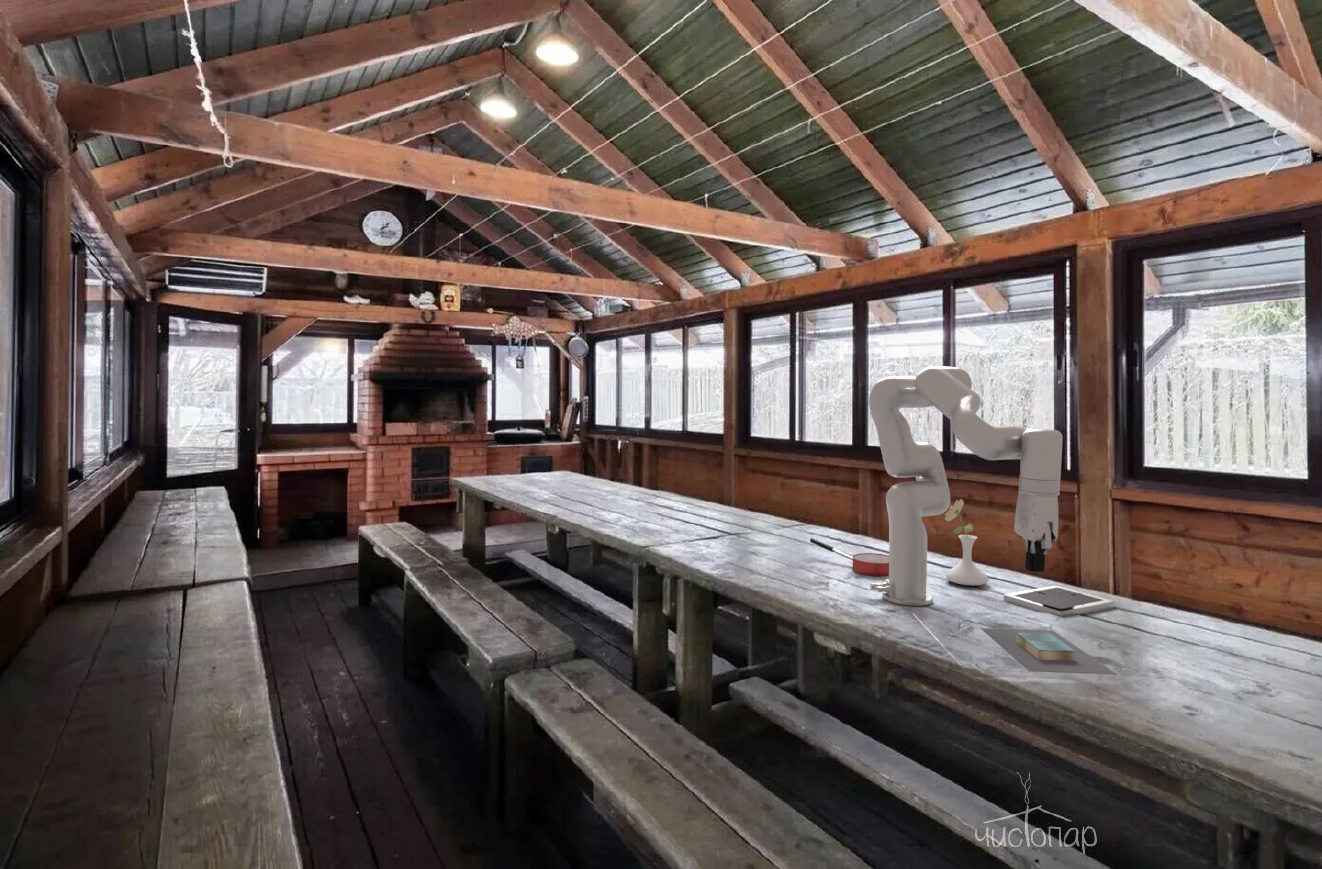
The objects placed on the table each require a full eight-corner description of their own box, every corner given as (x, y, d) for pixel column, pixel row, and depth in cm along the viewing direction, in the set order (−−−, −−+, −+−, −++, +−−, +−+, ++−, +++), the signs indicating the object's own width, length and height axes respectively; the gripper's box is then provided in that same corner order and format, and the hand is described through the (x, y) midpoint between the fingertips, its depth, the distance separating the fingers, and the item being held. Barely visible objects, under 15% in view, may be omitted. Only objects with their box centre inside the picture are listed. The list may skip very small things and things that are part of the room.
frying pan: (795, 560, 217) (795, 541, 217) (817, 554, 226) (818, 536, 225) (882, 579, 193) (882, 558, 193) (904, 572, 202) (904, 552, 201)
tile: (1016, 641, 141) (1038, 659, 131) (1016, 632, 141) (1039, 649, 131) (1049, 642, 141) (1075, 660, 131) (1050, 633, 141) (1075, 651, 131)
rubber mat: (1029, 673, 126) (1029, 670, 126) (980, 630, 150) (980, 627, 150) (1116, 676, 124) (1116, 673, 124) (1052, 632, 148) (1052, 630, 148)
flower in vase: (967, 576, 196) (969, 494, 195) (997, 586, 185) (999, 500, 184) (932, 580, 192) (933, 496, 191) (961, 591, 181) (963, 502, 180)
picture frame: (1060, 620, 158) (1114, 609, 167) (1061, 608, 158) (1114, 598, 167) (1003, 602, 173) (1055, 592, 181) (1003, 591, 173) (1055, 582, 181)
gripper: (1005, 481, 146) (1001, 560, 148) (1037, 491, 131) (1032, 580, 133) (1040, 481, 145) (1035, 561, 147) (1076, 492, 131) (1071, 581, 132)
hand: (1034, 570), depth 140 cm, fingers closed
